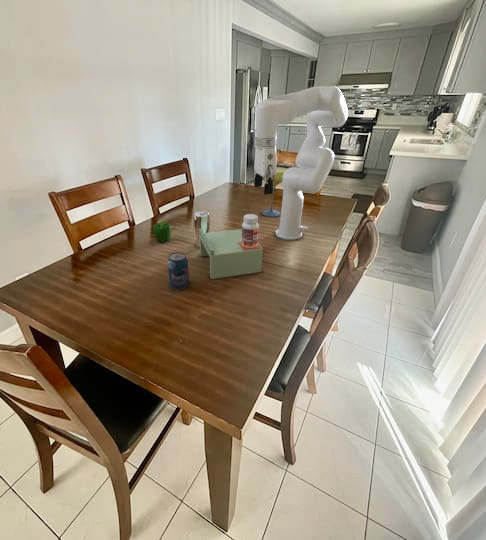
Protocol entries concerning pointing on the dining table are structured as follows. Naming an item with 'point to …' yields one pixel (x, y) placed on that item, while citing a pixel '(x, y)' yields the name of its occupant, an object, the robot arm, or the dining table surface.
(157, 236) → the bell pepper
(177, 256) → the soda can
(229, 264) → the shelf
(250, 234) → the pill bottle
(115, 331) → the dining table surface
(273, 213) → the cocktail glass
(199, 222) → the beer glass
